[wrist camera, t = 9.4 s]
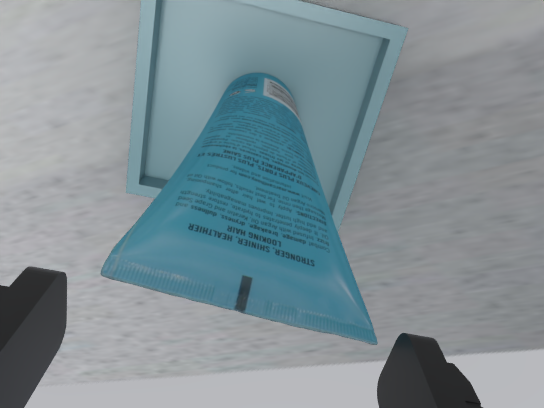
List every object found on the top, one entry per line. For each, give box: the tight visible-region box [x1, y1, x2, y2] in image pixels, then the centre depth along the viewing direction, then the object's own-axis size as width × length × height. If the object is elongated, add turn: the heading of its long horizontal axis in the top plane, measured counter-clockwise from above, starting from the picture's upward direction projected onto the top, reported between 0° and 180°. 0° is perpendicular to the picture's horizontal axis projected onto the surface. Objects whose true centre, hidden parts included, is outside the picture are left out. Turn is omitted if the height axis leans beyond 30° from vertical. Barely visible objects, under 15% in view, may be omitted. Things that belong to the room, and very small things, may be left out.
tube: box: [101, 73, 377, 345], centre depth 19 cm, size 7×5×19 cm, turn 76°
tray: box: [126, 0, 408, 232], centre depth 28 cm, size 15×14×2 cm
